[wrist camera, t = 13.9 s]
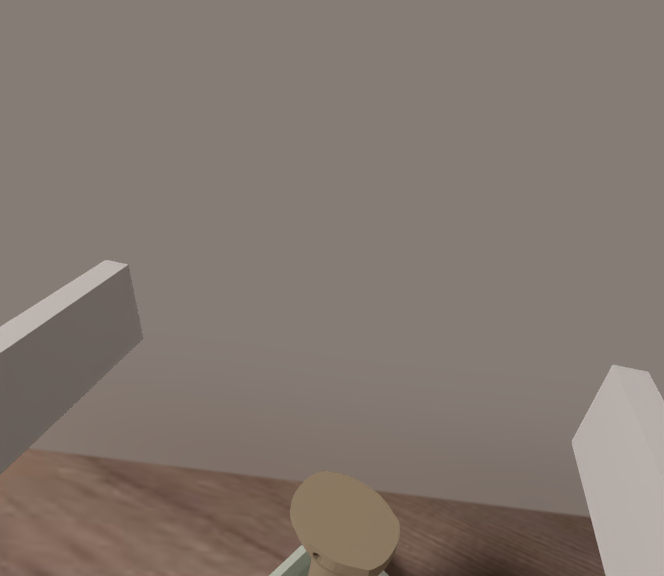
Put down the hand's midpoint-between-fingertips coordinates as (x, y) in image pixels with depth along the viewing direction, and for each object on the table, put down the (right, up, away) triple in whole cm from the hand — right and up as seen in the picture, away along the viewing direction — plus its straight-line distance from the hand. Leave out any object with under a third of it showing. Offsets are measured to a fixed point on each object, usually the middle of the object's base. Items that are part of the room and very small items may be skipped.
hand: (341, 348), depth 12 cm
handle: (0, -24, +21) cm, 32 cm away
